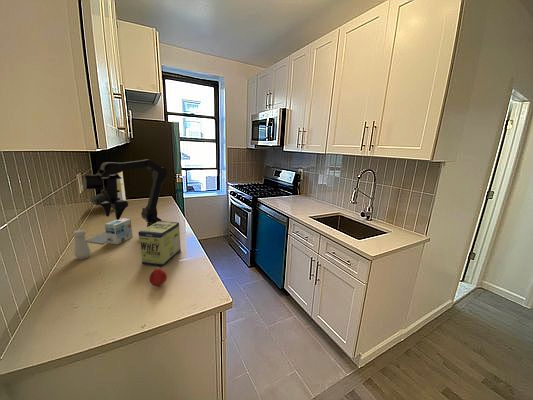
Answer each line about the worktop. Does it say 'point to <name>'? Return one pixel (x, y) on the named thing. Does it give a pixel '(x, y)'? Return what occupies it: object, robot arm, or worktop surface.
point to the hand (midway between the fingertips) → (112, 218)
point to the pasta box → (120, 188)
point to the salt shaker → (81, 245)
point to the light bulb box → (118, 231)
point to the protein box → (159, 243)
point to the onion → (158, 277)
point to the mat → (98, 239)
